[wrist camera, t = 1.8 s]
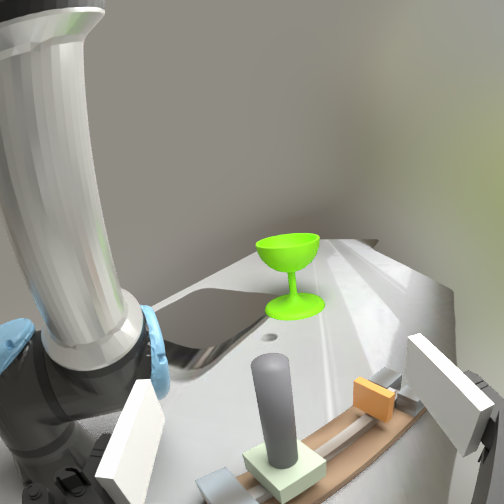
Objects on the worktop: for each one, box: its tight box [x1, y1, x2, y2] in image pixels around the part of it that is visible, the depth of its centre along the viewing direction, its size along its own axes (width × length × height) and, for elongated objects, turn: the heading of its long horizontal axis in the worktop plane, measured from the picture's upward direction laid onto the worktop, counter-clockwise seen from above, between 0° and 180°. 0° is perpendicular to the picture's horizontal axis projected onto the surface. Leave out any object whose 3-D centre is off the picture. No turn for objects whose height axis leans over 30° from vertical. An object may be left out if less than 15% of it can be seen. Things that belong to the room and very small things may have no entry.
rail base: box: [195, 367, 427, 504], centre depth 33 cm, size 9×32×4 cm, turn 123°
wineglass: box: [256, 233, 325, 320], centre depth 82 cm, size 16×16×18 cm
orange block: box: [353, 377, 396, 423], centre depth 37 cm, size 6×5×4 cm
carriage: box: [242, 353, 326, 504], centre depth 28 cm, size 7×6×16 cm
